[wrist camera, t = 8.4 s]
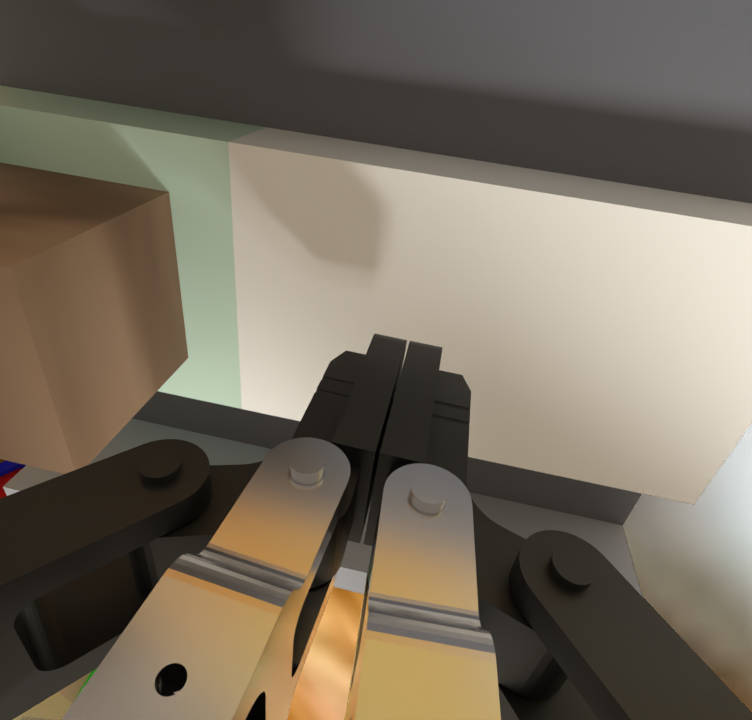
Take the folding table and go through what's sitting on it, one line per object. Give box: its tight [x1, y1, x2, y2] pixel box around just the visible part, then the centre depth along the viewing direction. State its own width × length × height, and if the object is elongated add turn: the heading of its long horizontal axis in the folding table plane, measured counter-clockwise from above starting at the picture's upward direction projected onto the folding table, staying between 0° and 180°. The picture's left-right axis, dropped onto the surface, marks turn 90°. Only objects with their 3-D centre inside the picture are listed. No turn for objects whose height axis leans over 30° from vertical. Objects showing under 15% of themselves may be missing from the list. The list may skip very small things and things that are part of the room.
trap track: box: [0, 0, 752, 597], centre depth 13 cm, size 22×18×6 cm
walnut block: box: [0, 162, 188, 474], centre depth 12 cm, size 5×5×5 cm
